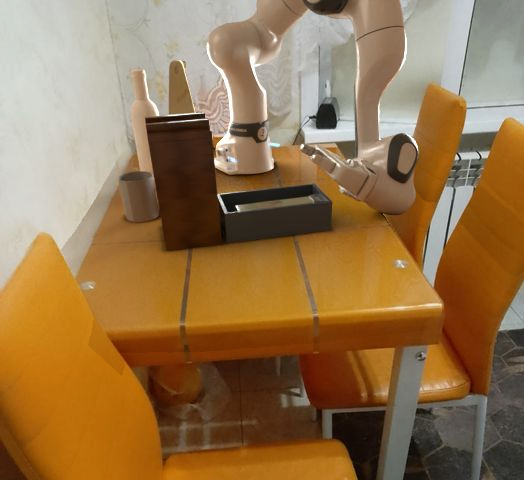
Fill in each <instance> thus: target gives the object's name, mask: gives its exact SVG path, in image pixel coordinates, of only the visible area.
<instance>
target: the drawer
mask: <svg viewBox="0 0 524 480" xmlns="http://www.w3.org/2000/svg"><path fill="white" fill-rule="evenodd" d="M315 202H323V201H322V200H321V199H320V198H319V196H318V195H317V194H314V195H309V196H308V197H299V198H291V199H283V200H274V201H266V202H258V203H250V204H242V205H235V209H236V211H244V210H253V209H262V208H271V207H280V206H289V205H297V204H306V203H315Z"/></svg>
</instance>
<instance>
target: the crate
mask: <svg viewBox="0 0 524 480" xmlns="http://www.w3.org/2000/svg"><path fill="white" fill-rule="evenodd" d="M314 194H317V195H318V196H319V198H320V199H321V200H322V201H323V202H315V203H306V204H297V205H289V206H280V207H271V208H262V209H253V210H244V211H236V209H235V205H242V204H250V203H258V202H266V201H274V200H283V199H291V198H299V197H308V196H309V195H314ZM217 195H218V205H219V216H220V227H221V232H222V234H223V237H224V238H225V241H226V243H227V244H230V243H239V242H246V241H254V240H263V239H271V238H279V237H280V238H281V237H286V236H287V237H288V236H295V235H303V234H311V233H320V232H328V231H329V232H330V231H332V220H333V200H331V198H330V197H328V195H327V194H325V192H324V191H323V190H322V189H321V188H320V187H319V186H318V185H317V184H316V183H315V182H313V183H305V184H296V185H286V186H279V187H278V186H277V187H270V188H268V187H267V188H259V189H249V190H240V191H232V192H222V193H221V192H220V193H217Z"/></svg>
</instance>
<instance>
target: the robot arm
mask: <svg viewBox="0 0 524 480" xmlns="http://www.w3.org/2000/svg"><path fill="white" fill-rule="evenodd" d="M255 5H256V6H255V7H256V9H255V12H254V14H253V15H252V16H250V17H249V18H247V19H245V20H242V21H234V22H226V23H224V24H222V25H219V26H217V27H216V28H214V29H212V30H211V32H210V33H209V34H208V37H207V42H206V51H207V55H208V58H209V60H210V62H211V64H212V65H213V66H214V67H216V68H217V69H218V71H219V72H220V74H221V76H222V78H223V80H224V83H225V86H226V89H227V94H228V101H229V111H230V121H225V124H226V125H225V127H228V128H227V134H225V135H224V136H223V138H222V139H221V140H220V141H219V142H217V144H216V146H213V151H214V150H215V157H214V162H215V169H217V170H219V171H221V172H223V173H225V174H227V175H231V176H232V175H233V176H234V175H254V174H261V173H266V172H269V171H272V169H274V168H275V165H274V163H275V158H273V154H272V153H273V152H272V147H277V148H278V147H280V143H275V142H271V136H270V135H269V132H270V119H269V117H268V94H267V93H268V92H267V90H266V88H265V87H264V85H262V84H261V83H260V81H259V79H258V76H257V72H256V67H257V66H263V65H266V64H267V63H270V62H271V61H273V60H275V58H277V57H278V56H279V54H280V52H281V49H282V46H283V45H282V44H283V41H284V39H285V38H286V36H287V35H288V34H289V32H290V31H291V30H292V29H293V28H294V27H295V26H297V24H298V23H300V21H301V20H302V19H304V17H305V16H306V15H307V14H308V13H309V12H312V13H314V14H316V15H318V16H325V17H326V18H327V17H328V18H330V19H335V20H350V23H351V24H352V28H353V35H354V44H355V55H356V56H355V57H356V68H355V80H354V83H353V119H354V120H353V121H354V150H353V155H352V158H348V159H346V160H345V159H343V158H342V157H341V156H339V155H337V154H336V153H334V152H332V151H331V150H329V149H328V148H325V147H323V146H322V145H319V144H315V145H314V146H311V145H308V144H306V143H305V142H303V143H302V144H301V145H300V147H299V150H300V152H301V153H304V154H305V155H307V156H308V157H309V160H311V162H312V163H313V164H315V165H316V166H318V167H319V168H320V170H322V171H323V172H324V173H326V174H327V175H328V176H329V177H330V178H331V179H332V180H333V181H334V182H335V183H336V184H337V186H338V190H339V192H340V193H341V194H342V195H345V196H347V197H348V198H350V199H352V200H355V201H357V202H360V203H364V204H365V205H366V206H368V207H369V208H370V209H372V210H375V211H376V212H379V213H381V214H384V215H386V216H401V215H403V214H405V213H406V212H407V211H408V210H409V209H410V208H412V206H413V204H414V202H415V200H416V197H417V191H416V188H415V186H414V185H415V184H414V177H415V170H416V169H415V168H416V167H417V164H418V161H419V155H420V153H419V152H420V150H419V147H418V145H417V142H416V140H415V139H414V138H413V137H412V136H411V135H409V134H407V133H404V132H400V133H395V134H392V135H389V136H386V137H384V138H382V139H381V136H380V132H381V131H380V103H381V99H382V97H383V94H384V92H385V91H386V89H387V88H388V86H389V85H390V83H391V82H392V81H393V79H395V77H396V76H397V75H398V74H399V72H400V71H401V69H402V68H403V66H404V63H405V60H406V55H407V35H406V28H405V27H406V26H405V19H404V14H403V13H404V12H403V8H402V4H401V0H256V4H255ZM214 147H216V148H214Z"/></svg>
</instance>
